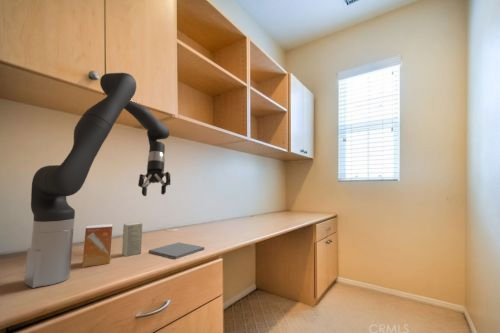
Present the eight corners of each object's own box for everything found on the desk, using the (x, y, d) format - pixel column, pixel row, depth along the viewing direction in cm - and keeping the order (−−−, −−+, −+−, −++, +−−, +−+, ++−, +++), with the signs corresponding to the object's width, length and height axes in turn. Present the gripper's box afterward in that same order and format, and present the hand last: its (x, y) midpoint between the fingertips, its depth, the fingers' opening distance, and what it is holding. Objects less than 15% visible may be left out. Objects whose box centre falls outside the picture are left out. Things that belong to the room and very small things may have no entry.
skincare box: (137, 251, 96) (139, 222, 97) (141, 253, 93) (143, 223, 94) (121, 254, 92) (123, 223, 93) (124, 256, 89) (126, 224, 90)
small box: (82, 267, 77) (85, 227, 78) (83, 262, 82) (85, 225, 83) (110, 263, 81) (112, 226, 82) (109, 258, 86) (111, 223, 87)
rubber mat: (175, 259, 87) (175, 256, 87) (148, 252, 95) (148, 250, 95) (204, 249, 100) (204, 247, 101) (178, 244, 109) (178, 242, 109)
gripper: (137, 160, 108) (134, 194, 102) (167, 158, 108) (165, 191, 102) (145, 166, 115) (142, 198, 109) (173, 164, 115) (171, 195, 109)
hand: (153, 195), depth 106 cm, fingers open, 8 cm apart
